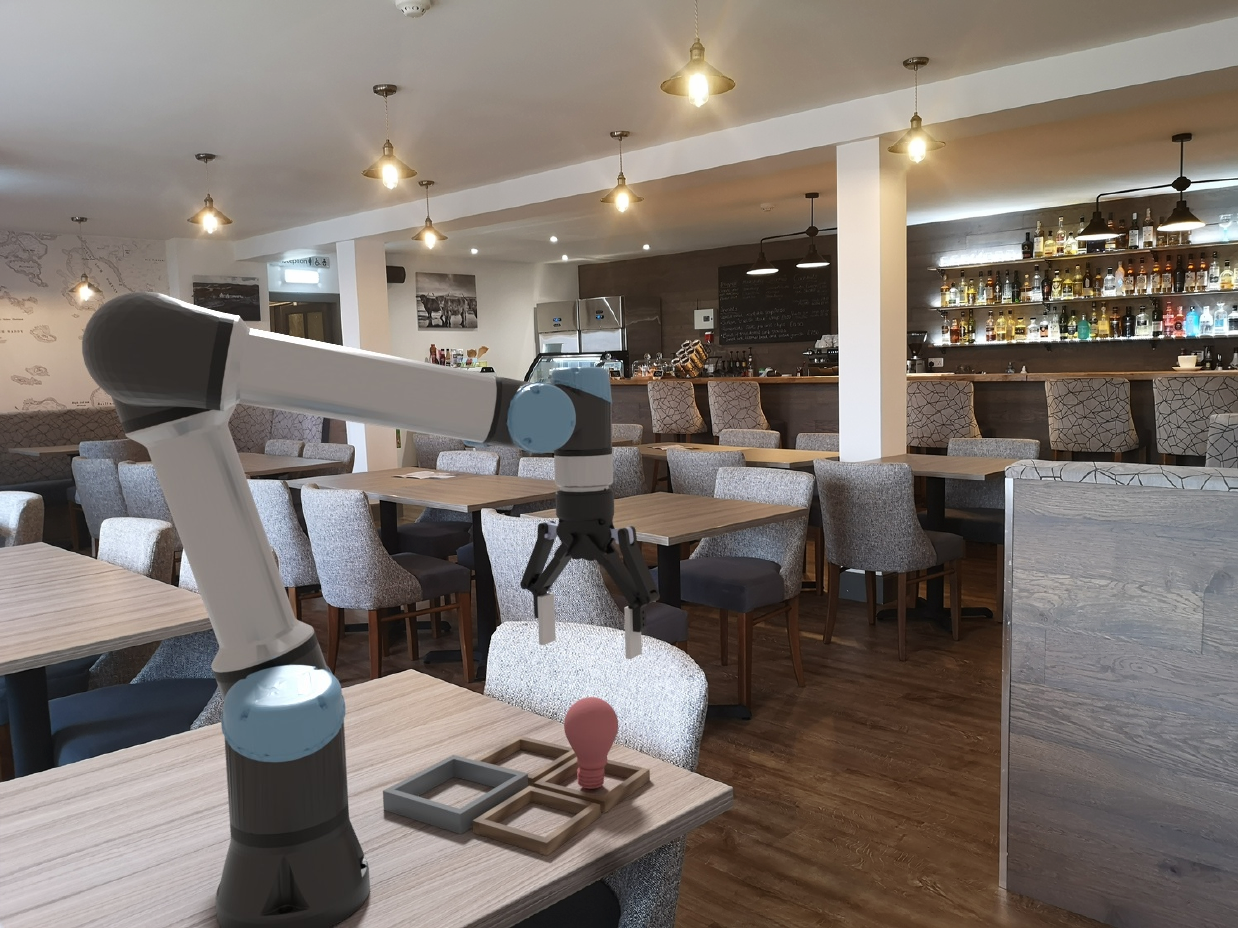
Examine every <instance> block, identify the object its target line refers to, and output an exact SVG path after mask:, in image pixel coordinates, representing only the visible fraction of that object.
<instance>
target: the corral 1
mask: <svg viewBox="0 0 1238 928" xmlns="http://www.w3.org/2000/svg"><path fill="white" fill-rule="evenodd" d="M495 765H496V764H493V765H491V764H487V763H483V762H479V761H475V760H474V759H471V758H466V757H463V756H459V755H456V754H453V755H451V756H450V755H449V756H448V757H446V758H444V759H442V760H440V761H439V762H437V763H434V764H432V765H431V766H428V767H427V768H425V769H423V770H420V771H418V772H416V773H415V774H413V775H411V776H409V777H408V778H405V779H403V780H401V781H399V782H397V783H396V784H393V785H392V786H389V787H388V788H385V789H384V790H382V799H383V800H382V801H383V804H382V805H383V810H384V811H386V812H389V813H392V814H395V815H396V814H397V815H399V816H402V817H405V818H409V819H412V820H414V821H418V822H422V823H425V824H427V825H431V826H433V827H436V828H440V829H443V830H446V831H450V832H453V833H457V834H459V835H463V834H464V833H465V832H467V831H468V830H470V829H473V820H474V819H476V818H478V817H479V816H481V815H483V814H484V813H486V812H487V811H489V810H491V809H492V808H494V807H496V806H497V805H499V804H501V803H502V802H504V801H505V800H507V799H509V798H510V797H512V796H514V795H515V794H517V793H518V792H520V791H522V790H523V789H525V788H527V787H528V774H526V773H527V772H525V773H522V772H523V771H521V772H518V771H519V770H517V771H514V770H515V769H513V770H510V769H511V768H509V769H506V768H507V767H505V768H502V767H503V766H501V767H499V766H500V765H497V766H495ZM454 777H455V778H458V779H462V780H466V781H469V782H472V783H477V784H479V785H480V784H481V785H484V786H488V787H492V789H491V790H490V791H488V792H486V793H484V794H482V795H481V796H479V797H478V798H475V799H473V801H470V802H469V803H467V804H465V805H463V806H462V807H460V808H458V807H455V806H453V805H452V806H451V805H449V804H444V803H442V802H438V801H435V800H431V799H427V798H424V797H421V795H423V794H425V793H427V792H428V791H431V790H432V789H434V788H436V787H437V786H440V785H441V784H443V783H445V782H447V781H449V780H451V779H452V778H454Z"/></svg>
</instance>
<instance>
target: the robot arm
mask: <svg viewBox="0 0 1238 928" xmlns="http://www.w3.org/2000/svg"><path fill="white" fill-rule="evenodd" d="M81 353H82V357H83V362H84V365H85V368H86V369H87V371H88V375H90V377H91V378H92V379H93V380H92V381H94V383H95V384H96V385H97V386H98V387H99V388H100V389H102V390H103V392H104V393H106V394H107V395H108V396H109V397H111V399H112V402H113V405H114V409H115V411H116V413H117V416H118V418H119V421H120V423H121V426H122V428H123V432H124V434H125V437H126V438H128V439H129V440H130V439H131V440H133V441H135V442H136V443H139V444H140V445H142V446H144V447H145V448H146V449H147V452H148V454H149V457H150V460H151V463H152V466H153V469H154V471H155V474H156V477H157V479H158V482H159V485H160V487H161V490H162V494H163V496H164V498H165V502H166V504H167V506H168V509H169V511H170V514H171V515H170V516H171V517H172V521H173V522H174V526H175V529H176V531H177V533H178V536H179V539H180V543H181V544H182V547H183V551H184V553H185V555H186V559H187V562H188V564H189V566H190V569H191V572H192V575H193V577H194V580H195V583H196V585H197V588H198V591H199V594H200V596H201V600H202V602H203V604H204V607H205V609H206V614H207V615H208V618H209V621H210V624H211V626H212V629H213V632H214V634H215V635H214V636H215V638H216V641H217V643H218V646H219V647H218V651H217V653H216V654H215V656H214V658H213V661H212V662H211V665H210V666H211V669H212V673H213V675H214V678H215V681H216V683H217V687H218V689H219V691H220V695H221V697H222V699H223V705H222V706H223V707H222V713H221V721H220V723H221V725H220V726H221V731H222V732H221V733H222V735H223V737H224V752H225V766H226V769H225V770H226V783H227V785H226V786H227V798H228V814H229V815H228V816H229V817H228V818H229V828H230V829H229V830H230V842H229V846H228V851H227V854H226V856H225V857H226V858H225V860H224V866H223V869H222V873H221V877H220V878H221V879H220V880H219V881H220V882H219V884H218V886H217V890H216V893H215V908H216V909H215V910H216V911H215V912H216V921H217V923H218V926H219V927H220V928H331V927H333V926H335V925H338V924H339V923H341V922H342V921H344V920H346V919H347V918H349V917H350V916H351V915H353V914H354V913H355V912H357V911H358V909H360V908H361V907H362V905H363V904H364V902H365V901H366V900H367V898H368V896H369V893H370V888H371V884H370V883H371V882H370V867H369V864H368V860H367V857H366V856H365V853H364V850H363V848H362V846H361V843H360V841H359V839H358V836H357V834H356V831H355V829H354V827H353V825H352V822H351V819H350V812H349V811H350V810H349V808H350V807H349V791H348V774H347V772H348V770H347V752H346V736H345V735H346V733H345V730H346V729H345V717H346V701H345V698H344V695H343V691H342V690H343V689H342V686H341V683H340V681H339V679H338V678H337V677H336V676H335V675H334V674H333V673H332V670H331V669H330V667H329V666H328V665H327V662H326V660H325V658H324V654H323V652H322V649H321V646H320V644H319V641H318V638H317V635H316V632H315V629H314V627H313V626H312V625H309V624H308V623H305V622H303V621H301V620H298V619H297V618H296V617H295V613H294V610H293V607H292V605H291V601H290V599H289V597H288V593H287V591H286V588H285V584H284V582H283V578H282V576H281V573H280V571H279V568H278V565H277V562H276V559H275V556H274V553H273V551H272V548H271V547H272V546H271V545H270V541H269V539H268V537H267V533H266V531H265V528H264V525H263V522H262V519H261V516H260V513H259V511H258V510H259V509H258V507H257V505H256V502H255V499H254V496H253V492H252V490H251V487H250V485H249V483H248V479H247V477H246V473H245V470H244V467H243V465H242V462H241V459H240V457H239V453H238V450H237V447H236V444H235V442H234V439H233V435H232V433H231V431H230V428H229V420H230V419H231V417H232V415H233V413H234V412H235V410H236V407H237V405H238V404H240V405H246V406H251V407H258V408H264V409H272V410H278V411H281V412H282V411H284V412H290V413H295V414H301V415H307V416H314V417H319V418H326V419H332V420H337V421H345V422H352V423H357V424H364V425H369V426H375V427H381V428H388V429H395V430H402V431H407V432H413V433H419V434H426V435H432V436H438V437H444V438H449V439H455V440H456V439H457V440H460V441H462V443H463V444H464V445H465V446H467V447H483V448H489V447H504V448H508V449H514V450H521V451H524V452H526V453H531V454H537V455H539V454H541V455H542V454H546V453H550V452H553V454H554V455H553V458H554V459H553V461H554V464H553V465H554V469H553V470H554V485H556V486H557V487H559V489H557V490H556V492H555V515H556V517H557V518H558V524H557V523H556V521H555V520H548V521H544V522H541V523H538V525H537V537H536V540H535V543H534V545H533V550H532V552H531V554H530V557H529V560H528V562H527V565H526V567H525V570H524V573H523V575H522V578H521V580H520V583H519V585H520V586H519V587H521V588H520V589H521V590H527V591H528V592H530V593H531V595H533V615H534V618H535V619H537V620H538V623H537V624H538V644H539V646H545V645H548V644H550V643H553V642H555V641H556V615H555V614H556V613H555V612H556V611H555V610H556V609H555V607H556V606H555V593H554V592H550V591H552V590H553V589H552V588H551V587H552V586H553V584H554V583H555V582H556V580H557V579H558V578H559V576H560V575H561V573H562V572H563V571H564V570H565V568H566V567H567V565H568V564H569V562H570V561H571V560H581V559H582V560H585V561H587V562H588V561H590V562H593V561H596V562H597V563H598V565H600V566H602V567H603V568H604V569H605V572H607V574H608V575H609V577H610V578H611V580H612V582H614V584H615V585H616V587H617V588H618V590H619V591H620V593H621V594H622V595H623V597H624V598H625V600H626V601H627V603H628V604H629V605H627V606H625V607H624V609H623V610H624V639H625V640H624V643H625V659H626V660H627V659H628V660H632V659H634V658H637V657H638V656H640V655H642V654H643V652H642V651H643V649H642V648H643V647H642V644H643V643H642V642H643V641H642V632H644V631H645V630H646V628H647V605H648V604H650V603H653V602H654V603H655V602H656V601H658V600H660V597H661V595H660V592H659V589H658V587H657V584H656V581H655V580H654V578H653V576H652V574H651V571H650V569H649V567H648V565H647V563H646V560H645V558H644V555H643V553H642V551H641V549H640V546H639V544H638V539H637V530H636V528H635V526H633V525H629V526H626V527H623V528H615V526H614V521H613V520H614V516H615V491H614V490H613V489H612V488H611V487H610V486H611V485H612V484H613V483H614V459H613V456H614V455H613V454H614V453H613V428H612V427H613V420H612V419H613V417H612V416H613V414H612V412H613V409H612V408H613V407H612V406H613V399H612V387H611V385H612V384H611V381H610V379H611V378H610V375H609V374H610V373H609V371H607V370H606V368H604V367H602V366H601V367H600V366H580V367H579V366H578V367H577V366H574V367H571V366H570V367H556V368H554V369H553V370H552V372H551V379H550V380H549V382H542V381H533V382H530V381H524V380H518V379H514V378H509V377H503V376H495V375H493V374H488V373H483V372H479V371H474V370H473V371H472V370H468V369H467V370H466V369H463V368H458V367H454V366H453V367H452V366H447V365H442V364H437V363H433V362H426V361H421V360H417V359H410V358H405V357H401V356H400V357H399V356H394V355H390V354H384V353H380V352H379V353H378V352H374V351H368V350H364V349H358V348H354V347H349V346H347V347H346V346H343V345H337V344H332V343H327V342H322V341H317V340H314V339H313V340H312V339H307V338H301V337H297V336H290V335H286V334H281V333H277V332H271V331H265V330H259V329H255V328H251V327H249V326H248V325H247V323H246V322H245V321H244V320H243V319H242V318H241V316H240V315H236V314H231V313H228V312H227V313H225V312H221V311H216V310H213V309H208V308H206V307H202V306H198V305H196V304H192V303H188V302H186V301H183V300H180V299H177V298H174V297H172V296H170V295H166V294H163V293H159V292H154V291H142V290H141V291H133V292H126V293H123V294H121V295H118V296H115V297H114V298H112V299H109V300H108V301H107V302H105V303H104V304H102V305H100V306H99V308H98V309H96V310H95V312H94V313H93V314H92V315H91V317H90V318H89V320H88V321H87V323H86V326H85V328H84V332H83V334H82V341H81ZM557 537H558V539H559V541H560V545H559V546H558V547H557V549H556V550H555V552H554V553H553V554H554V556H553V557H552V558H551V560H550V562H549V563H548V564H547V562H548V558H549V556H550V554H551V551H552V548H553V546H554V544H555V540H556V538H557ZM614 540H615V544H616V545H618V546H619V550H620V552H621V556H622V557H623V560H624V562H625V563H624V562H623V560H622V559H621V558H620V553H619V551H618V550H617V549H616V547H615V546H614V544H613V542H614ZM546 564H547V566H546ZM625 564H626V565H625ZM544 568H545V569H544Z"/></svg>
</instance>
